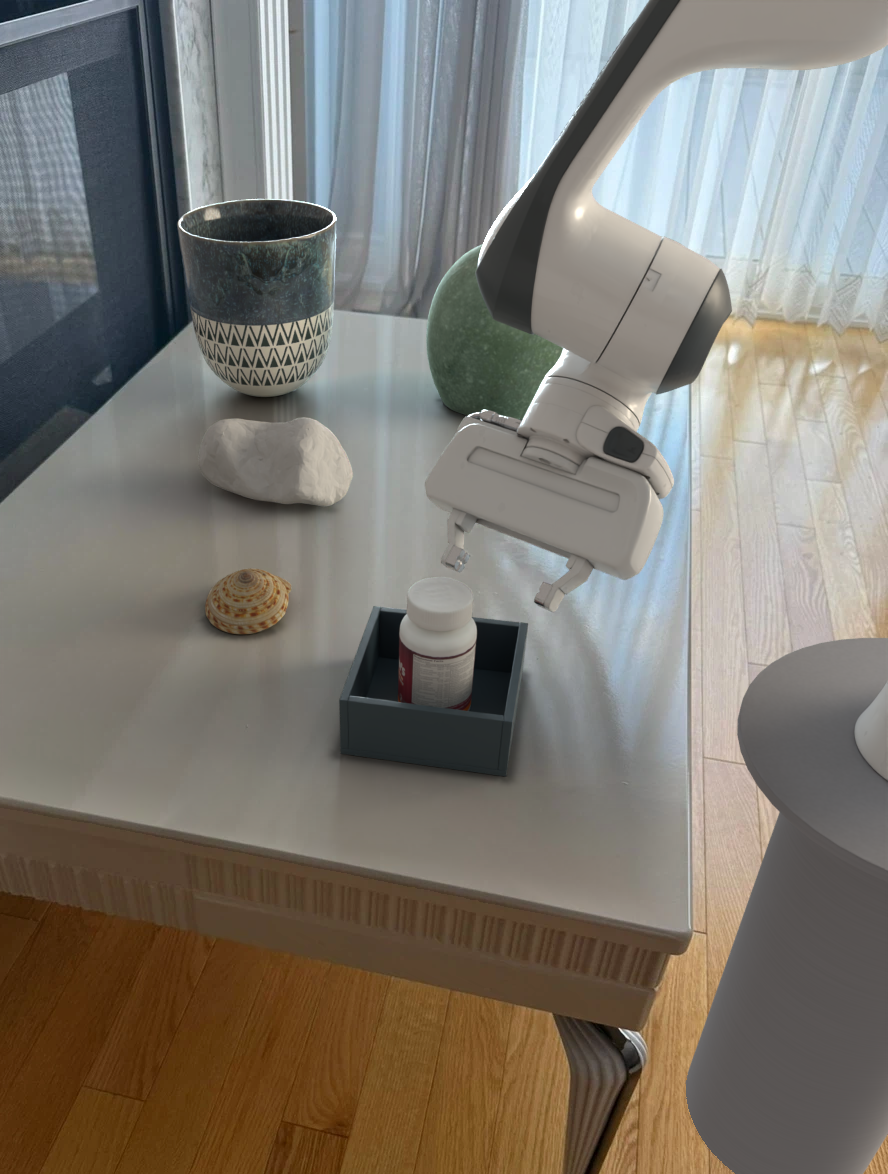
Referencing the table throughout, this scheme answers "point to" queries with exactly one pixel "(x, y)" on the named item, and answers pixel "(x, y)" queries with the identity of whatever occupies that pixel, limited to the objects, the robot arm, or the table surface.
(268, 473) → the decorative stone
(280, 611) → the seashell
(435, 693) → the pill bottle
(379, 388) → the table surface
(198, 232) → the planter
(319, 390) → the table surface
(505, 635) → the bin
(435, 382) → the sculpture
